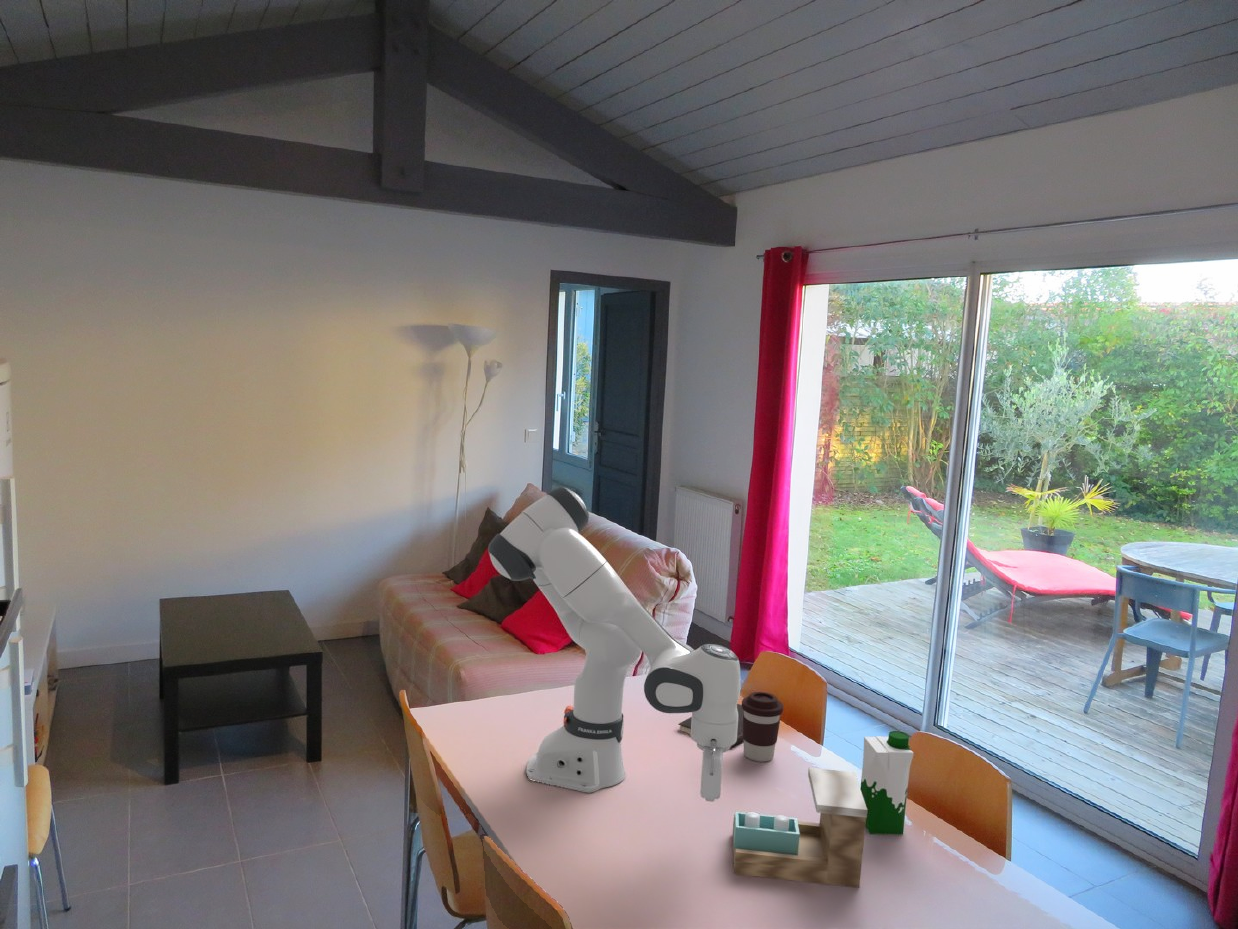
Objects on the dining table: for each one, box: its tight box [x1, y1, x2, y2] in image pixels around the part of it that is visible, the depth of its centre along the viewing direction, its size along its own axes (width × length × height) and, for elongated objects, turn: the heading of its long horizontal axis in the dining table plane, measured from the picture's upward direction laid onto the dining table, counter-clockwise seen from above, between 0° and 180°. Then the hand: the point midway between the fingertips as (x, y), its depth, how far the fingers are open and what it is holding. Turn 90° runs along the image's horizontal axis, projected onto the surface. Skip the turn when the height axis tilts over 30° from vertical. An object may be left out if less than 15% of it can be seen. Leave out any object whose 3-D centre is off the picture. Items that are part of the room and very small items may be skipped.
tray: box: [733, 811, 800, 855], centre depth 173 cm, size 12×6×6 cm, turn 84°
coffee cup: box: [741, 691, 784, 763], centre depth 217 cm, size 10×10×15 cm
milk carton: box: [860, 730, 914, 835], centre depth 187 cm, size 9×9×20 cm
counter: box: [732, 767, 867, 889], centre depth 172 cm, size 23×15×16 cm, turn 84°
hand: (709, 798), depth 173 cm, fingers closed
